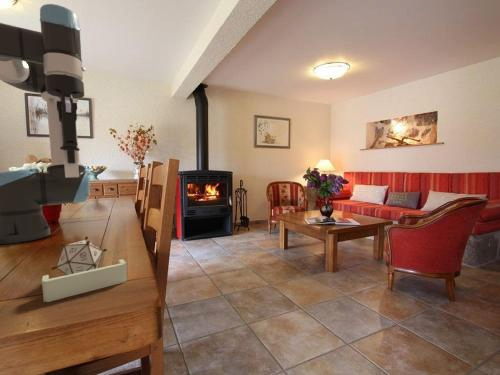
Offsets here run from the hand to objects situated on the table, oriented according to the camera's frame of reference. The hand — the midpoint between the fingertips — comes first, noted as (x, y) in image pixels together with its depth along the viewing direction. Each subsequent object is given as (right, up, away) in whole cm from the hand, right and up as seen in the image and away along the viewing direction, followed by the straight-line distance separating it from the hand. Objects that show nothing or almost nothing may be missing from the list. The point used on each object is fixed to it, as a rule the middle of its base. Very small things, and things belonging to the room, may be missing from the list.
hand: (72, 177), depth 63 cm
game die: (+9, -21, -11) cm, 25 cm away
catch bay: (+14, -21, -15) cm, 29 cm away
